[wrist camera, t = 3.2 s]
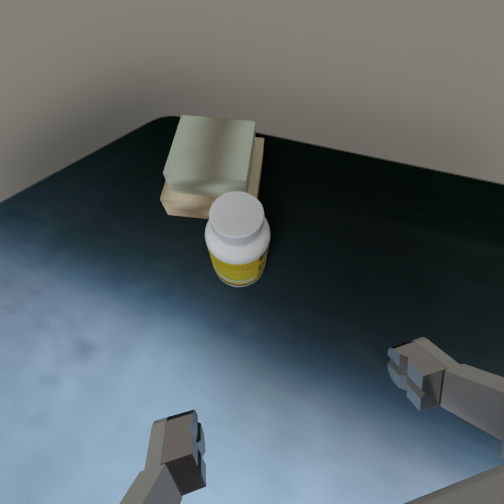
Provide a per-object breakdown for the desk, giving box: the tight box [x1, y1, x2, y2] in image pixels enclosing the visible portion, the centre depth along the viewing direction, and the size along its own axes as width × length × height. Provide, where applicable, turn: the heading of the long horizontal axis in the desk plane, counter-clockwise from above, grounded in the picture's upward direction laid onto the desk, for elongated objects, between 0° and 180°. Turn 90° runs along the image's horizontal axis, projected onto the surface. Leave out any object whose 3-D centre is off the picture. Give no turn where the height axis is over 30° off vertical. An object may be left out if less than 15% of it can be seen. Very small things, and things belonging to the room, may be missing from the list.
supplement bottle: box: [205, 191, 270, 287], centre depth 23 cm, size 5×5×10 cm
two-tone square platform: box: [160, 115, 264, 219], centre depth 29 cm, size 10×10×6 cm
